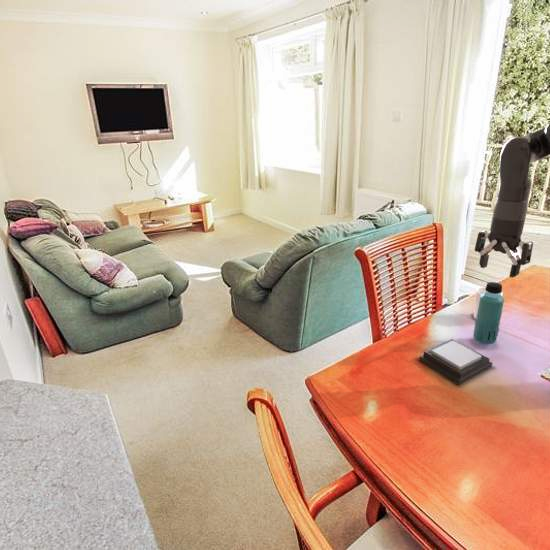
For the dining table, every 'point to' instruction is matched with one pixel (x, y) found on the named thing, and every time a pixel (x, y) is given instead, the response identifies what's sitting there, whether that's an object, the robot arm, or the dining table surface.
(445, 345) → the pan
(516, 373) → the dining table surface
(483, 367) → the scale
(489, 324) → the beverage bottle
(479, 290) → the white cup
